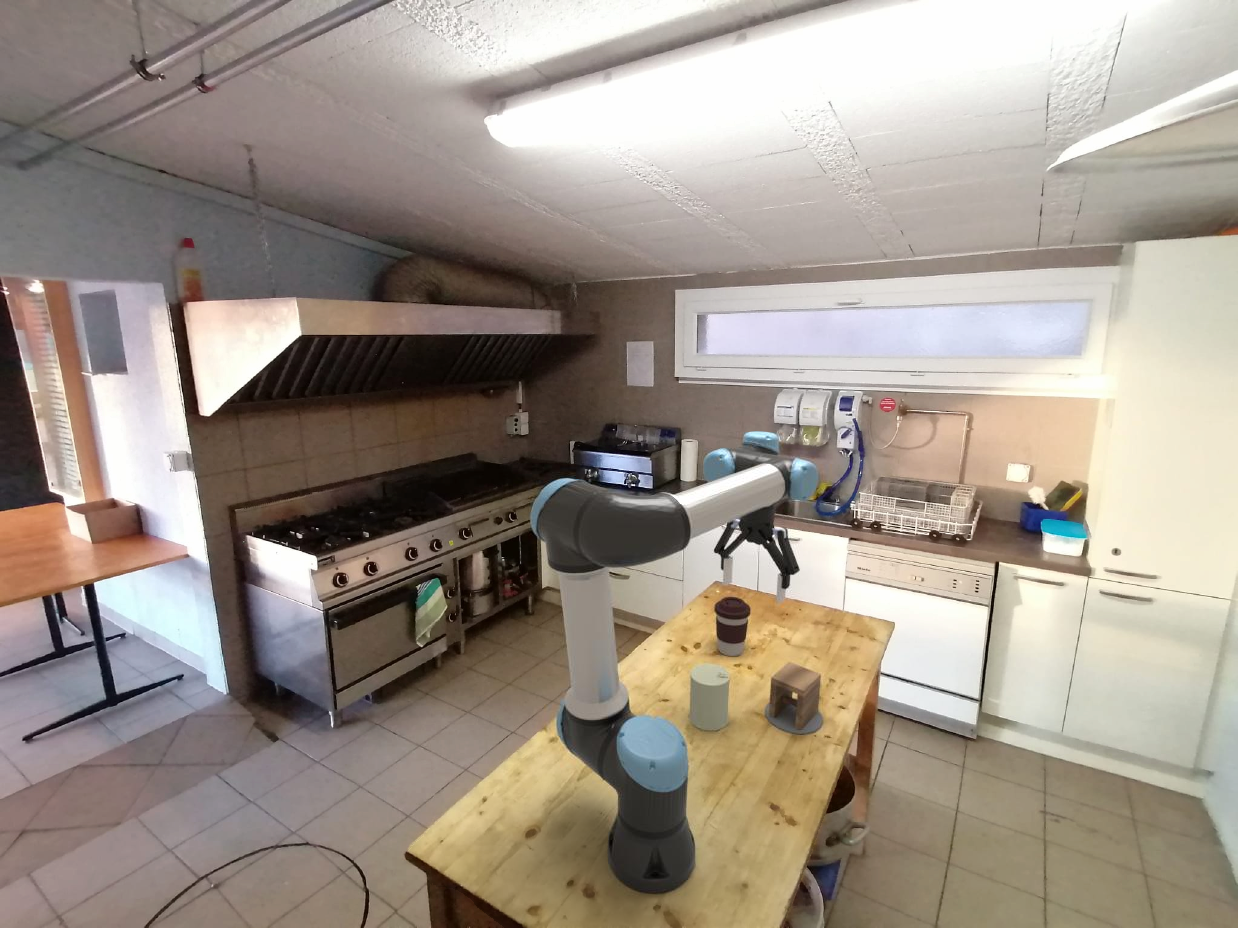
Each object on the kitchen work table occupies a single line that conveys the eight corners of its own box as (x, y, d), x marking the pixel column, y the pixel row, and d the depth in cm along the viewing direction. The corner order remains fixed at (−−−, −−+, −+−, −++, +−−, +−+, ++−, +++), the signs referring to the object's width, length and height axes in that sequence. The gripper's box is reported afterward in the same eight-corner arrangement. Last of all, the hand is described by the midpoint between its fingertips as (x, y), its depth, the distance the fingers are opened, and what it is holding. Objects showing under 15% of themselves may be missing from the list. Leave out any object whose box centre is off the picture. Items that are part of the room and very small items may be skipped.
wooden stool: (818, 712, 140) (821, 674, 138) (801, 730, 133) (803, 690, 131) (786, 698, 145) (789, 661, 143) (768, 715, 139) (771, 677, 136)
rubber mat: (807, 742, 130) (807, 739, 130) (755, 717, 139) (755, 714, 139) (831, 714, 140) (831, 712, 140) (781, 692, 148) (781, 690, 148)
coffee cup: (753, 647, 170) (755, 599, 167) (740, 663, 162) (743, 612, 159) (721, 638, 175) (723, 591, 172) (707, 652, 167) (709, 603, 164)
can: (727, 733, 133) (730, 685, 131) (687, 728, 135) (688, 680, 133) (728, 708, 142) (730, 663, 140) (690, 703, 144) (691, 659, 141)
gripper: (819, 509, 124) (812, 602, 129) (718, 489, 141) (715, 572, 145) (803, 517, 119) (797, 614, 123) (700, 495, 135) (698, 582, 140)
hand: (753, 592), depth 134 cm, fingers open, 13 cm apart
